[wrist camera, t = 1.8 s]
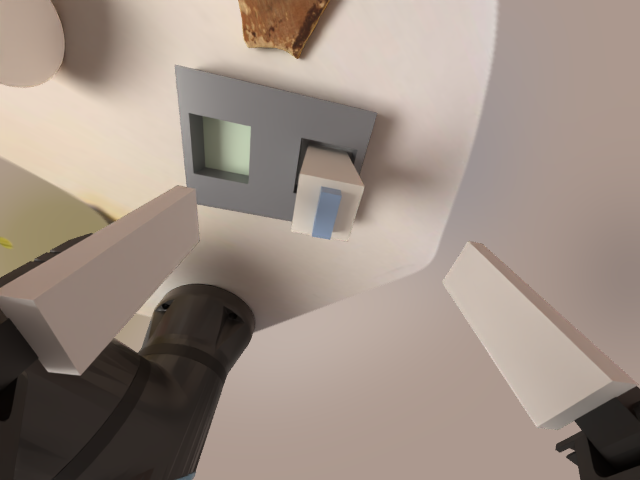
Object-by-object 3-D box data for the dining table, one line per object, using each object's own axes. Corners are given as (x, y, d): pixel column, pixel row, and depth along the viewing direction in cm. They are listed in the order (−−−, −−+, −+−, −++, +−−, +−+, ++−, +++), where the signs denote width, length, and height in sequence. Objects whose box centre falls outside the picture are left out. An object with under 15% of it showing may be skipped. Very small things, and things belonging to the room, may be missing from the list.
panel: (341, 219, 29) (343, 230, 26) (200, 193, 27) (188, 202, 24) (370, 111, 23) (377, 112, 20) (192, 69, 21) (174, 64, 18)
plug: (337, 187, 26) (349, 249, 15) (302, 180, 26) (288, 239, 15) (346, 150, 24) (367, 192, 13) (308, 142, 24) (298, 178, 13)
